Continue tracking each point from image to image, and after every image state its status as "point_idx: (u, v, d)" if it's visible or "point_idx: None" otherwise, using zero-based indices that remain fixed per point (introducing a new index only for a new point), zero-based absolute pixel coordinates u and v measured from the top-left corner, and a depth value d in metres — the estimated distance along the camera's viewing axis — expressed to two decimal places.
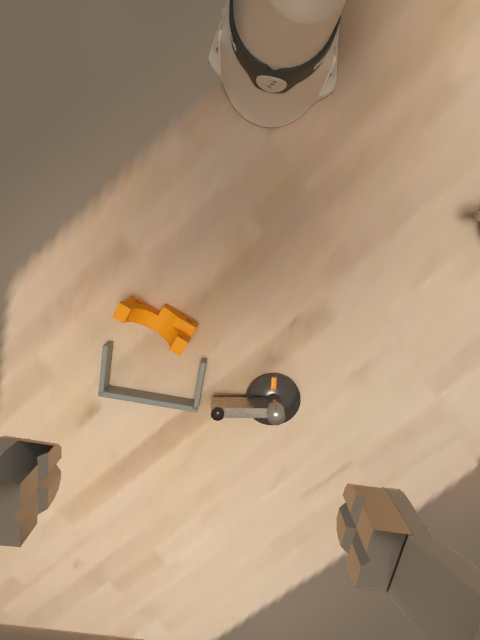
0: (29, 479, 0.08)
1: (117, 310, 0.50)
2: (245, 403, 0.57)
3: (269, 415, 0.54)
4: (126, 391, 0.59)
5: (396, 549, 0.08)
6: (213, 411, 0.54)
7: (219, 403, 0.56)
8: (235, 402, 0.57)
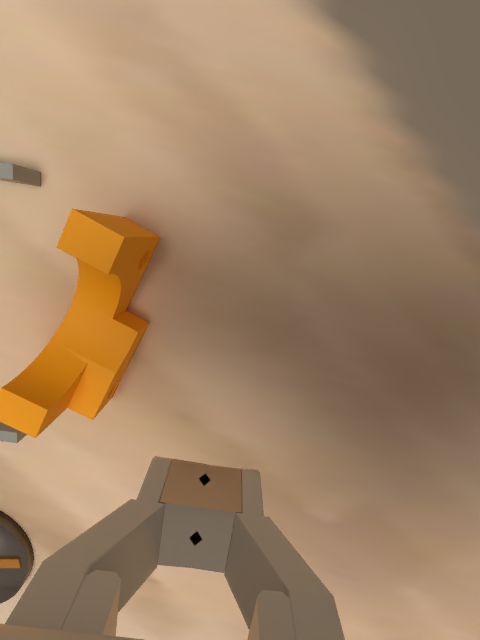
0: (201, 501, 0.08)
1: (97, 229, 0.15)
2: None
3: None
4: None
5: (227, 528, 0.07)
6: None
7: None
8: None
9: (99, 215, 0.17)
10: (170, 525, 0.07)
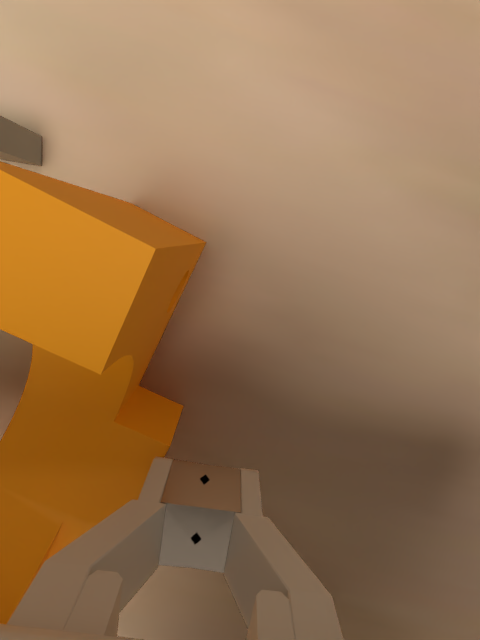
0: (202, 502, 0.08)
1: (54, 221, 0.04)
2: None
3: None
4: None
5: (226, 528, 0.07)
6: None
7: None
8: None
9: (70, 187, 0.06)
10: (171, 525, 0.07)
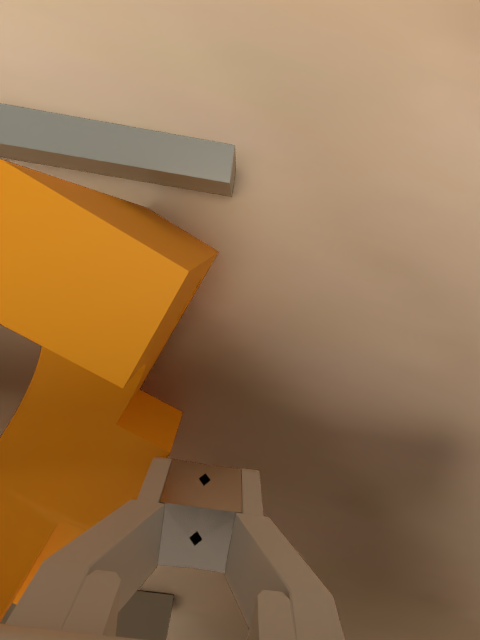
0: (201, 501, 0.08)
1: (92, 238, 0.04)
2: None
3: None
4: None
5: (227, 527, 0.07)
6: None
7: None
8: None
9: (98, 196, 0.06)
10: (170, 525, 0.07)
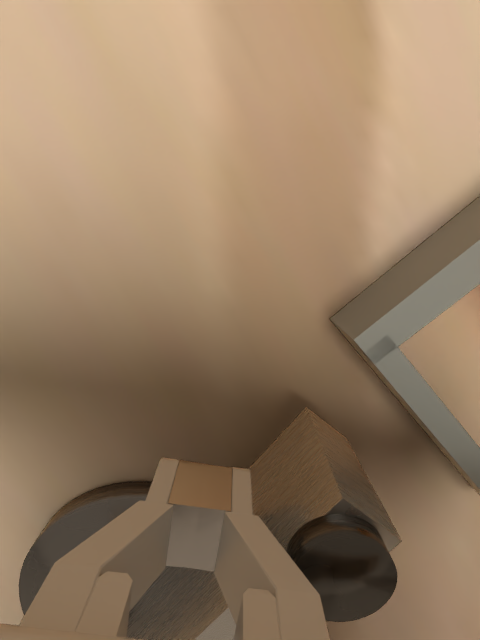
0: (209, 502, 0.08)
1: None
2: None
3: None
4: None
5: (217, 526, 0.07)
6: (386, 574, 0.07)
7: None
8: None
9: None
10: (179, 526, 0.07)
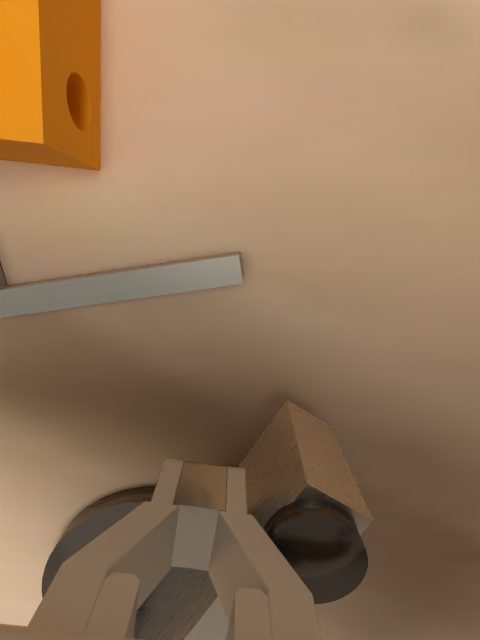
0: (215, 503, 0.08)
1: None
2: None
3: None
4: None
5: (211, 526, 0.07)
6: (356, 554, 0.07)
7: None
8: None
9: None
10: (184, 527, 0.07)
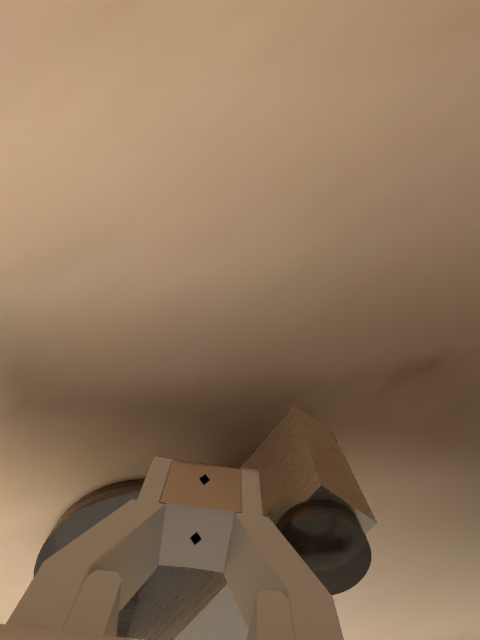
0: (202, 501, 0.08)
1: None
2: None
3: None
4: None
5: (227, 528, 0.07)
6: (361, 552, 0.07)
7: None
8: None
9: None
10: (171, 525, 0.07)
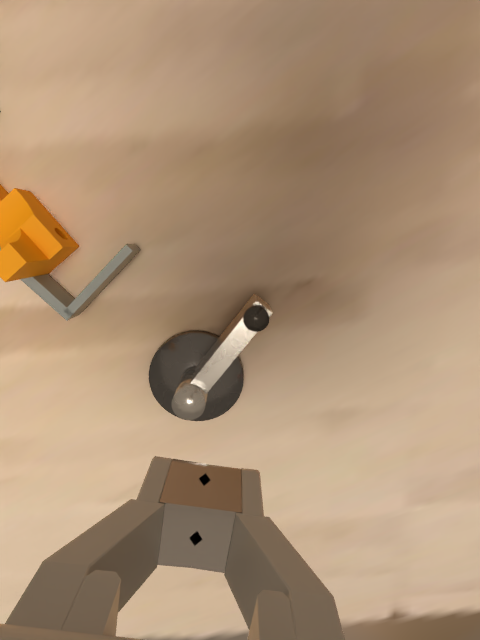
0: (201, 501, 0.08)
1: None
2: None
3: (198, 397, 0.29)
4: None
5: (227, 527, 0.07)
6: (266, 317, 0.28)
7: None
8: None
9: None
10: (170, 525, 0.07)
